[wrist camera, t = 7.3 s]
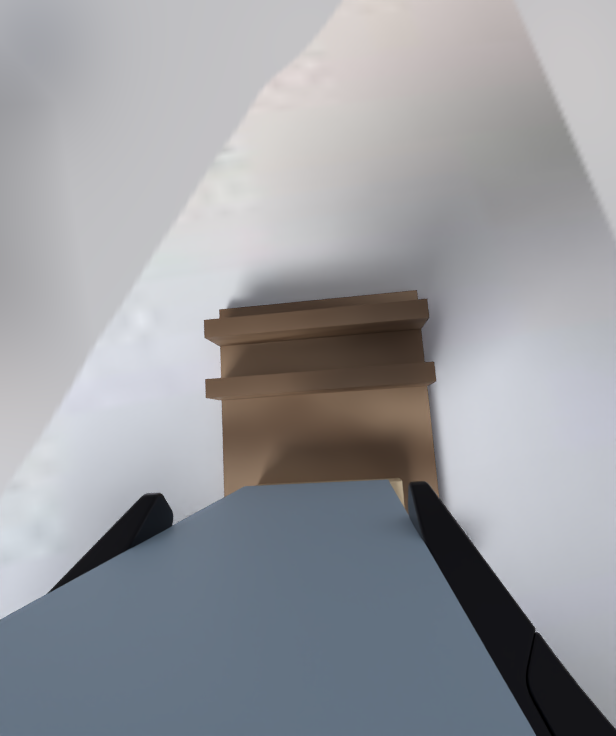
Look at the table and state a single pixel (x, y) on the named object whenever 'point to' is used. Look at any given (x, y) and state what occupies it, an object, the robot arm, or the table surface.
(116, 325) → the table surface
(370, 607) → the board
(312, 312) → the rack
